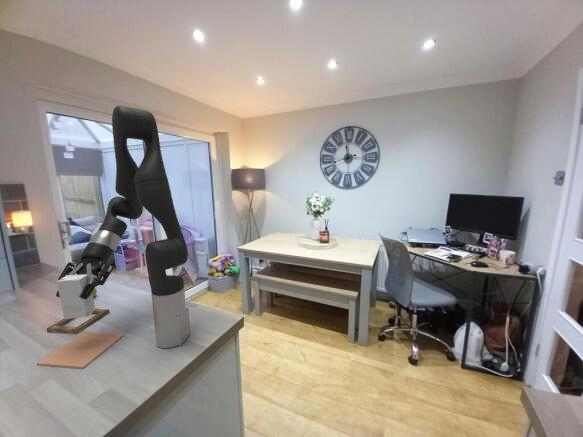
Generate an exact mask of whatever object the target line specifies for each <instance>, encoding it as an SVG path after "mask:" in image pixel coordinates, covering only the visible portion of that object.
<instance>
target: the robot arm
mask: <svg viewBox="0 0 583 437" xmlns="http://www.w3.org/2000/svg"><path fill="white" fill-rule="evenodd" d="M111 115H112V117H111V124H112V125H111V127H112V138H113V148H114V157H115V158H114V159H115V166H116V167H115V168H116V169H115V172H116V173H115V186H114V187H115V192H116V194H118V195H119V196H114V197H111V199H109V201H108V204H107V208H106V214H105V217H104V218H103V221H102V223H101V225H100V226H99V228H98V229H97V230H96V232H95V233H94V234H93V235H92V237H91V238H90V240H89V241H88V243H87V245H86V246H85V247H84V249H83V251H82V252H81V254H80V257H81V258H80V260H79V261H78V262H77V263H73V262H71V261H70V262H67V263H66V265H65V267H64V269H63V270H62V272H61V274H60V275H59V277H58V278H57V281H58V280H60V279H61V278H63V277H65V276H67V275H85V274H87V278H88V285H86V286H85V288H84V289H83V291H82V293H81V294H80V296H79V297H80V298H82V299H88V297H89V296H90V295H91V293H92V292H93V290H94V288H97V287H98V286H103V285H105V283H106V282H107V280H108V279H109V276H110V275H111V273H112V272H113V271H114V267H113V266H112V265H111V264H109V263H110V261H111V259H112V258H113V256H114V254H115V252H116V250H117V248H118V246H119V244H120V242H121V239H122V238H123V236H124V234H125V233H126V231H127V229H128V224H127V223H126V222H125V221H124V220H122V219H121V218H124V219H129V220H137V219H139V218H140V217H141V216H142V215H143V212H144V209H145V210H146V211H147V212H148V213H149V214H150V215H151V216H153V218H155V220H157V222H158V223H159V224H160V225H161V227H162V229H163V231H164V233H165V236H166V238H164V239H159V240H155V241H151V242H148V244H147V245H146V246H145V252H144V253H145V254H144V255H145V263H146V269H147V276H148V282H149V286H150V290H151V291H150V292H151V301H152V302H151V303H152V311H153V313H152V314H153V324H154V335H155V344H156V347H158V348H160V349H170V348H175V347H178V346H179V347H180V346H182V345H183V344H184V342H185V341H186V340H187V339H188V337H189V336H190V335H191V324H190V323H191V322H190V309H189V307H187V306H186V305H187V304H186V303H187V302H186V293H185V292H186V291H185V279H184V277H182V276H180V275H173V274H171V275H167V270H169V269H173V268H177V267H180V266H183V265H184V264H186V263H187V262H188V259H189V251H188V247H187V246H188V245H187V242H186V239H185V236H184V234H183V231H182V228H181V226H180V223H179V219H178V216H177V212H176V209H175V204H174V200H173V196H172V191H171V187H170V182H169V179H168V174H167V172H166V168H165V163H164V159H163V155H162V150H161V142H160V137H159V130H158V125H157V122H156V118H155V116H154V114H153V113H152V112H151V111H148V110H145V109H141V108H135V107H131V106H125V105H116V106H115V107H114V108H113V110H112V114H111ZM128 139H129V140H131V139H133V140H139V141H143V142H144V147H145V150H144V151H145V152H144V156H143V158H142V160H141V162H140V164H139V166H138V165H137V164H138V163H136V161H135V160H134V159H133V157H132V154H131V153H130V151H129V147H128ZM118 217H120V218H118ZM55 296H56V297H57V298H59V299H60V295H59V291H58V290H57V291H56V294H55Z"/></svg>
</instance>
